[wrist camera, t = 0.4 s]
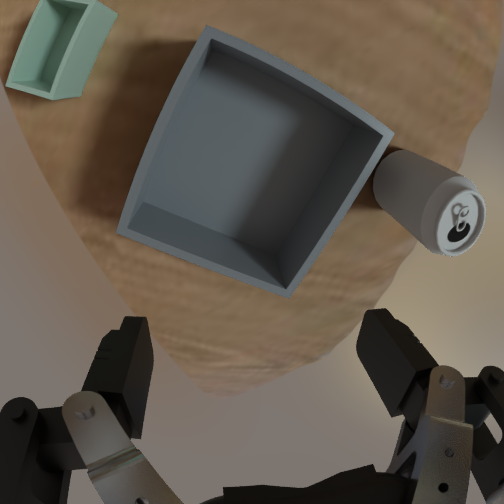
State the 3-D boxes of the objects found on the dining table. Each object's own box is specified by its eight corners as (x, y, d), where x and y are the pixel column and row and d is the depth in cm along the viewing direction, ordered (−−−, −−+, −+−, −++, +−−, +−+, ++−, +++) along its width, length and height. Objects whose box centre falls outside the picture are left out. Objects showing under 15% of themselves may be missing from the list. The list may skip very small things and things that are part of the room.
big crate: (209, 41, 22) (206, 24, 16) (359, 122, 27) (394, 133, 21) (135, 202, 29) (115, 232, 23) (276, 260, 35) (288, 298, 28)
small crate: (72, 5, 18) (44, -8, 13) (118, 14, 20) (96, -1, 15) (38, 83, 22) (5, 86, 16) (81, 96, 23) (52, 100, 18)
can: (372, 217, 33) (428, 275, 23) (365, 154, 29) (432, 193, 19) (423, 202, 33) (487, 250, 22) (420, 143, 29) (494, 176, 19)
